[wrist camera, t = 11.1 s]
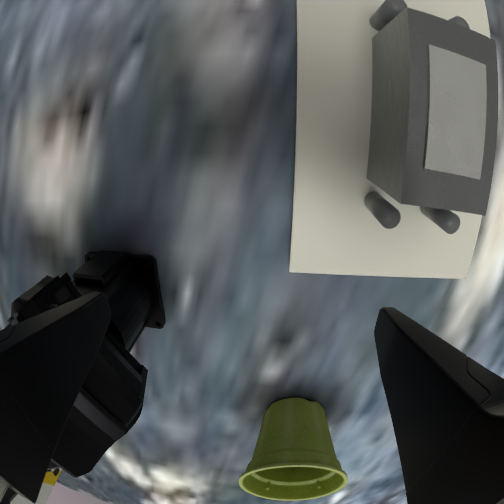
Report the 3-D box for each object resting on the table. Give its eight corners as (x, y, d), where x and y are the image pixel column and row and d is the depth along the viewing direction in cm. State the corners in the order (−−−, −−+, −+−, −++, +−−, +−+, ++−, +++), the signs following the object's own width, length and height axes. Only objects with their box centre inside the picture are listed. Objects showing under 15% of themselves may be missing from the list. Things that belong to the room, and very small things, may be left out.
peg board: (460, 272, 20) (487, 302, 16) (289, 265, 21) (289, 300, 17) (477, 2, 11) (509, -12, 7) (295, -42, 12) (296, -76, 8)
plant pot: (349, 424, 28) (356, 491, 20) (270, 441, 31) (264, 504, 23) (326, 374, 25) (333, 456, 17) (233, 397, 28) (218, 471, 20)
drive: (435, 187, 17) (486, 216, 11) (366, 178, 17) (401, 204, 12) (443, 56, 13) (496, 40, 8) (371, 38, 14) (407, 6, 8)
